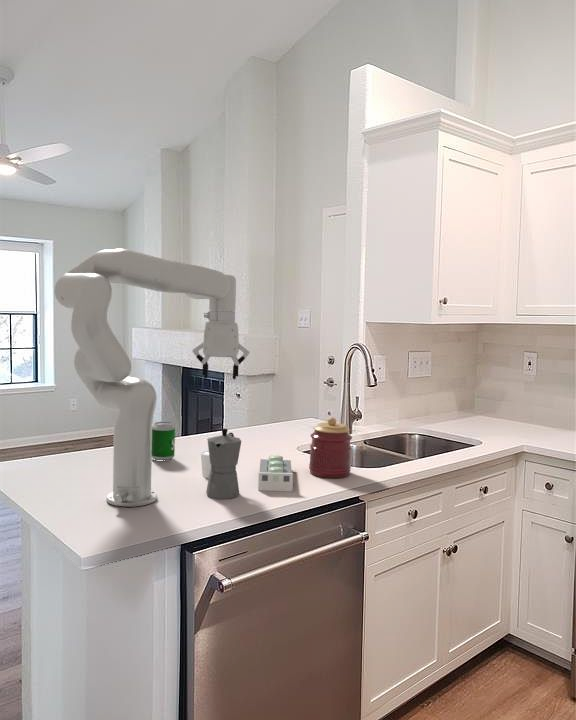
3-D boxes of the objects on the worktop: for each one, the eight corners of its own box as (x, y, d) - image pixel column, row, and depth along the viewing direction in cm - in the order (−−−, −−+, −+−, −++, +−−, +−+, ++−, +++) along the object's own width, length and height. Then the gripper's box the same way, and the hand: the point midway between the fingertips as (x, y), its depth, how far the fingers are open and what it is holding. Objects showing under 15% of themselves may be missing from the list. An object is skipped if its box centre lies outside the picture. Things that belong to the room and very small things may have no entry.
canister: (358, 476, 188) (361, 420, 186) (323, 480, 181) (325, 422, 180) (335, 466, 199) (337, 413, 198) (301, 470, 193) (303, 415, 191)
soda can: (168, 463, 195) (169, 426, 195) (147, 461, 197) (147, 424, 196) (177, 457, 203) (178, 422, 202) (156, 455, 204) (157, 420, 203)
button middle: (283, 474, 179) (283, 464, 179) (268, 473, 179) (268, 464, 179) (282, 470, 183) (283, 460, 183) (268, 469, 183) (268, 460, 183)
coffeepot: (233, 503, 157) (235, 434, 156) (198, 500, 159) (200, 432, 157) (247, 486, 172) (249, 424, 171) (214, 484, 174) (216, 421, 172)
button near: (283, 480, 172) (283, 470, 172) (267, 480, 172) (268, 470, 172) (283, 476, 176) (283, 466, 176) (267, 475, 176) (268, 466, 176)
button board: (292, 491, 169) (293, 474, 169) (258, 490, 169) (258, 472, 169) (290, 469, 193) (290, 454, 192) (260, 468, 193) (260, 453, 192)
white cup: (201, 479, 178) (202, 455, 178) (199, 473, 185) (199, 450, 184) (225, 478, 180) (225, 455, 179) (221, 472, 187) (222, 449, 186)
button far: (282, 467, 186) (283, 458, 186) (268, 467, 186) (268, 458, 186) (282, 464, 190) (282, 455, 190) (268, 463, 190) (268, 455, 190)
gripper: (190, 316, 172) (188, 378, 173) (251, 318, 172) (249, 380, 174) (193, 316, 179) (192, 376, 181) (252, 318, 180) (250, 378, 181)
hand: (220, 378), depth 177 cm, fingers open, 7 cm apart
